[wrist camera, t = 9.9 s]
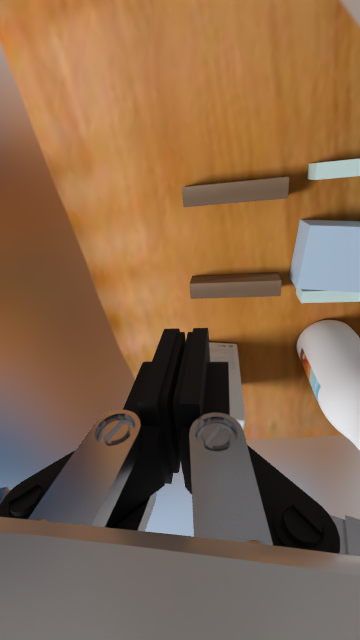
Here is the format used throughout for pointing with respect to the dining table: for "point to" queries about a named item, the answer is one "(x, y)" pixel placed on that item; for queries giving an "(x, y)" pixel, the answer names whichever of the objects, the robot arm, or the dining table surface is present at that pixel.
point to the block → (327, 256)
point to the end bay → (326, 172)
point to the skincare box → (231, 377)
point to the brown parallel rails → (233, 194)
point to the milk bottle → (334, 373)
